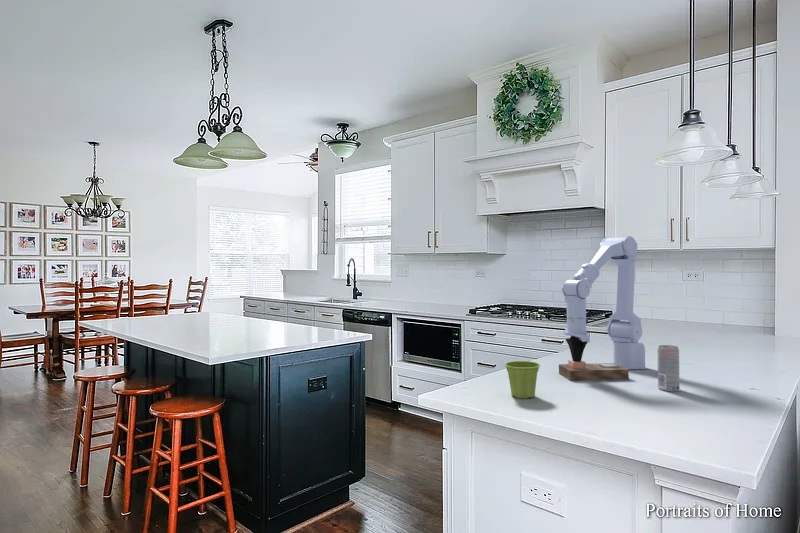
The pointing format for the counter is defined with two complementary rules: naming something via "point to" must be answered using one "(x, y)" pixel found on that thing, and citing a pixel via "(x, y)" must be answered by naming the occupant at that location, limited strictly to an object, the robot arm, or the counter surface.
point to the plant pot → (522, 378)
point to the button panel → (594, 372)
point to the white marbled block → (608, 365)
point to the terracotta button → (576, 364)
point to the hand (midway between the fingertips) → (576, 361)
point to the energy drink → (668, 368)
